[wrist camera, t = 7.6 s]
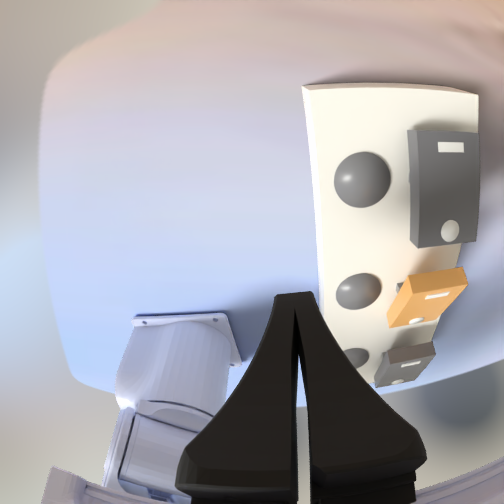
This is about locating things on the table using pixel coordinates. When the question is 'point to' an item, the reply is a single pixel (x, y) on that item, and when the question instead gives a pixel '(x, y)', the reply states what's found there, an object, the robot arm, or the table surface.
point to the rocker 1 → (443, 187)
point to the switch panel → (373, 206)
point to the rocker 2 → (426, 296)
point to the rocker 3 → (403, 364)
